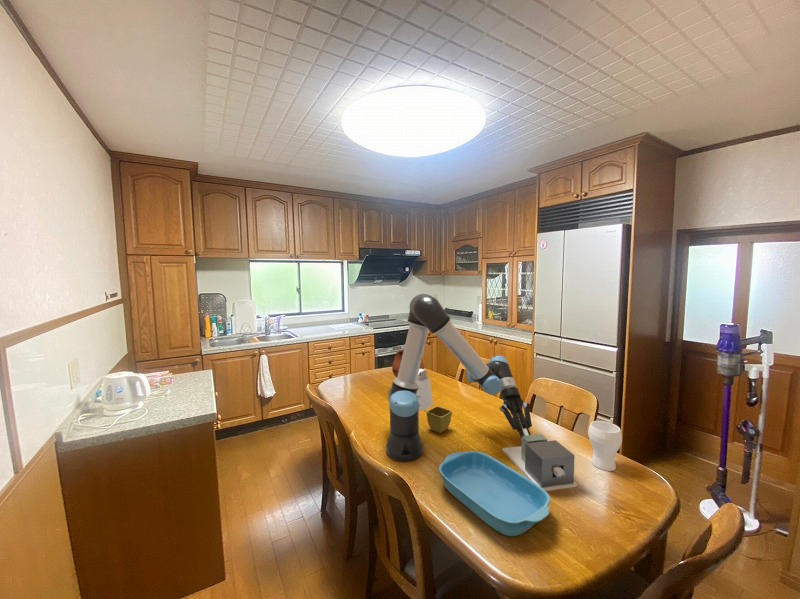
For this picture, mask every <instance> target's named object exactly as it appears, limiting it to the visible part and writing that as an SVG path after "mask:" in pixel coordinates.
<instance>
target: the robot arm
mask: <svg viewBox="0 0 800 599" xmlns="http://www.w3.org/2000/svg"><path fill="white" fill-rule="evenodd" d="M407 317H408V318H407V321H406V322H407V323H408V325H409V328H408V332H407V335H406V340H405V344H404V347H403V350H404V352H403V356H402V360H401V364H400V368H399V372H398V377H395V378H393V379H392V383H391V387H390V388H389V391H388V395H387V396H388V403H389V404H388V406H389V407H388V408H389V425H390V426H389V428H390V430H389V431H390V432H389V437H388V439H387V442H386V447H385V448H386V449H385V452H386V455H387V456H388V457H389V458H390V459H391V460H394V461H398V462H412V461H416V460H417V459H419V458H420V457H422V456H423V453H424V443H423V442H422V440H421V436H420V432H419V431H420V430H419V427H420V426H419V425H420V424H419V423H420V422H419V420H420V419H419V415H420V414H419V413H420V411H419V406H420V405H419V401H418V397H417V395H416V394H417V390H418V384H417V383H416V380H417V376H418V372H419V367H420V363H421V359H422V360H423V354H424V350H425V347H426V343H427V337H428V334H429V332H430V333H431V334H433V335H436V336H437V337H438V338H439V339H440V340H441V341H442V343H443V344H444V345H445V347H446V348H447V349H448V350H449V351H450V352H451V354H453V356H454V357H455V358H456V359H457V360H458V361H459V362H460V364H461V365H462V366H463V367H464V368H465V373H466V378H467V381H468V383H470V384H471V383H477V384H478V385H479V386H480V387H481V388H482V389H483V391H484V392H485V393H487V394H488V395H491V396H496V395H497V394H499V393H500V396H501V399H502V401H503V404H502V405H501V406H500V408H499V411H501V412H502V413H503V414H504V416H505V418H506V420H507V421H508V423H509V425H510V427H511V428H512V430H513V431H516V432H518V434H519V437H520V439H521V440H522V436H528V435H532V434H531V432H530V428H531V427H532V426H533V423H532V417H531V412H530V407H531V406H530V403H528V402H527V403H526V402H524V400H523V399H522V398H521V394H520V391H519V389H518V387H517V384H516V380H515V379H514V375H513V373H512V370H511V368H510V364H509V363H508V360H507V358H506V357H505V356H503V355H496V356H493V357H492V358H490V359H489V362H488V363H487V362H485V361H484V360H483V359H482V358H481V357H480V355H479V354H478V353H477V352H476V351H475V349H474V348H473V347H472V346H471V345H470V343H469V342H468V340H466V339H465V337H464V336H463V335H462V334H461V332H460V331H459V330H458V329H457V328H456V327H455V326H454V324H453V323H452V322H451V320H452V318H451V317H450V316H449V314H448V313H447V312H446V310H445V309H444V307H443V306H442V304H441V303H440V301H439V300H438V299H437V298H435V297H434V296H432V295H431V294H427V293H419V294H417V295H415V296H414V297H413V298H412V299H411V301H410V303H409V313H408V316H407ZM523 411H524V412H523Z"/></svg>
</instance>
